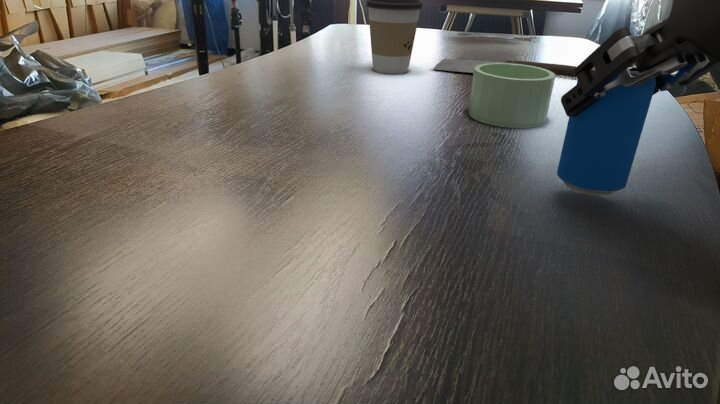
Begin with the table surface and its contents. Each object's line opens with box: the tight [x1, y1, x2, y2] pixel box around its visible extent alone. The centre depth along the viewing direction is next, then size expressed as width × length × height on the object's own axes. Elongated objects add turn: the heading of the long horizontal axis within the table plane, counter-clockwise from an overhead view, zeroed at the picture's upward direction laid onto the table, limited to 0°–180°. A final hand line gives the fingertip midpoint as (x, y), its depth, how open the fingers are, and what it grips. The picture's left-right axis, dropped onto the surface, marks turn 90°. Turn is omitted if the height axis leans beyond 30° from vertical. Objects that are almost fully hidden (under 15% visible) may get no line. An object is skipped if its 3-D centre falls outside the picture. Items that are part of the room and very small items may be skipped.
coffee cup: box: [365, 0, 424, 75], centre depth 101 cm, size 11×11×15 cm
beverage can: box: [556, 65, 656, 197], centre depth 48 cm, size 6×6×12 cm
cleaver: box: [433, 58, 577, 78], centre depth 105 cm, size 29×10×2 cm, turn 75°
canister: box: [468, 63, 556, 129], centre depth 76 cm, size 12×12×7 cm
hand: (594, 104), depth 48 cm, fingers closed on beverage can, 6 cm apart
